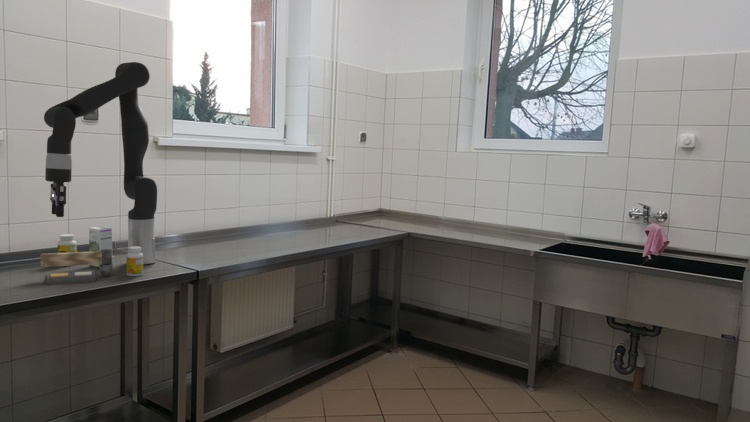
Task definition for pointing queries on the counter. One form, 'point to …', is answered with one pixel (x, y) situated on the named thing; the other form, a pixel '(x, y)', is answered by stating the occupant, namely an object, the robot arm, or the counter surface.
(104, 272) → the pivot post
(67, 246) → the pill bottle
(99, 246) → the syrup box
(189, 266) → the counter surface
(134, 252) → the supplement bottle
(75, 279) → the label mat
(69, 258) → the tan wooden bar
